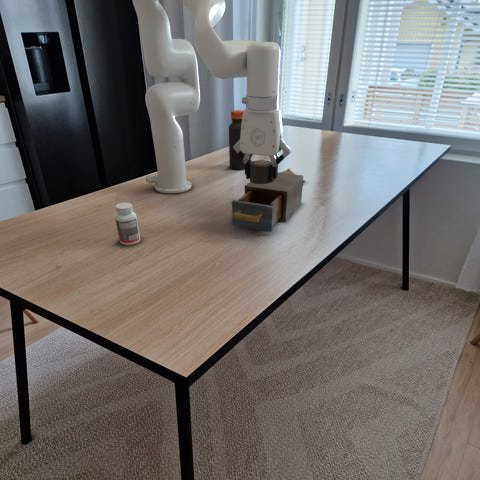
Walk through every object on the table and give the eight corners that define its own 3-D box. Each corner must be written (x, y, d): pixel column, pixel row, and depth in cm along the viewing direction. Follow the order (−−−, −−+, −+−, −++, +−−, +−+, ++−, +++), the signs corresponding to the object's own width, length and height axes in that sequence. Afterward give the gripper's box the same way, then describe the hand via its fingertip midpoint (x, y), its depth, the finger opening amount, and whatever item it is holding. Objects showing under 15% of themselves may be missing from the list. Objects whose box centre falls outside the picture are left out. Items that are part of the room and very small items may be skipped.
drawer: (265, 239, 106) (266, 214, 102) (225, 232, 110) (224, 207, 106) (288, 213, 120) (289, 189, 116) (252, 207, 124) (252, 184, 120)
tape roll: (250, 184, 107) (250, 166, 104) (249, 177, 111) (249, 160, 109) (273, 184, 107) (273, 166, 104) (271, 177, 112) (271, 159, 109)
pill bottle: (121, 237, 110) (114, 201, 104) (141, 236, 110) (135, 201, 104) (118, 246, 105) (111, 209, 100) (139, 245, 106) (133, 208, 100)
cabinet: (285, 222, 117) (287, 191, 112) (244, 215, 122) (244, 185, 116) (301, 203, 129) (303, 175, 124) (263, 198, 133) (264, 170, 128)
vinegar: (227, 169, 159) (225, 112, 147) (232, 164, 164) (232, 109, 152) (243, 170, 157) (243, 113, 145) (248, 165, 162) (249, 110, 150)
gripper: (223, 104, 98) (225, 179, 109) (292, 108, 93) (287, 187, 103) (236, 99, 104) (237, 171, 114) (301, 103, 98) (296, 178, 109)
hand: (260, 178), depth 109 cm, fingers closed on tape roll, 6 cm apart
